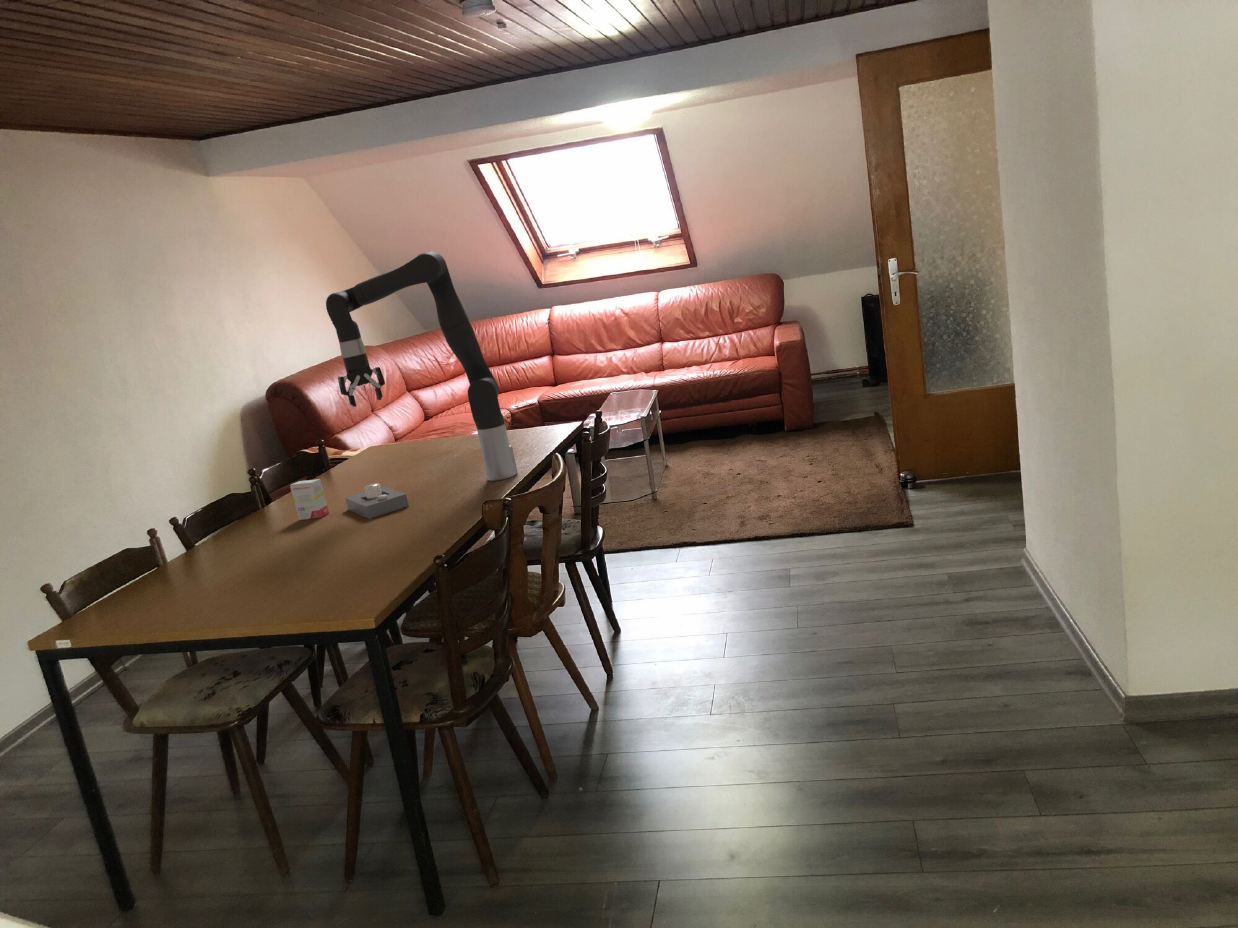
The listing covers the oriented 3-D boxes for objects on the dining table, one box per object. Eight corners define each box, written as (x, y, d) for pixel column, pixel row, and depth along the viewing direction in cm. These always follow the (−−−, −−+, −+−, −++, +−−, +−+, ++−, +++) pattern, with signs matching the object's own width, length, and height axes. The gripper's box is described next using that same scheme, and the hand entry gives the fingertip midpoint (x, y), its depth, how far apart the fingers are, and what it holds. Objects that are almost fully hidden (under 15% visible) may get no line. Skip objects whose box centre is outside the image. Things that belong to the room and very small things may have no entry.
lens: (382, 504, 304) (376, 482, 302) (388, 506, 300) (382, 484, 298) (366, 509, 302) (361, 487, 300) (372, 511, 297) (366, 489, 296)
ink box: (330, 513, 306) (320, 478, 303) (321, 518, 301) (312, 482, 298) (307, 515, 308) (298, 480, 306) (298, 520, 304) (289, 485, 301)
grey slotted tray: (385, 497, 312) (382, 483, 311) (408, 506, 296) (405, 490, 295) (347, 509, 306) (344, 495, 304) (369, 519, 289) (365, 503, 288)
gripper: (336, 359, 299) (349, 409, 302) (378, 348, 306) (391, 397, 309) (329, 359, 305) (342, 408, 308) (371, 349, 312) (383, 397, 316)
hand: (367, 403), depth 309 cm, fingers open, 8 cm apart
